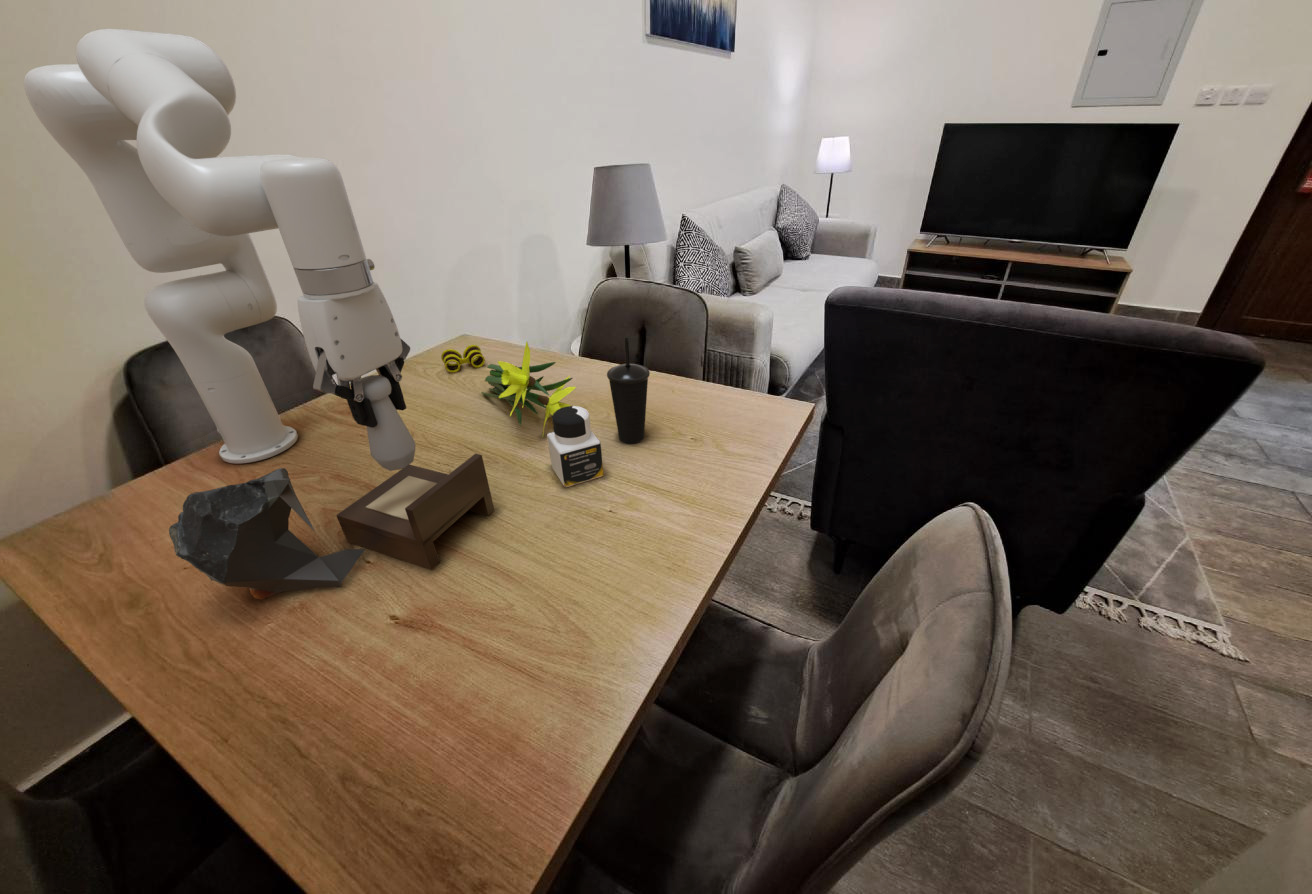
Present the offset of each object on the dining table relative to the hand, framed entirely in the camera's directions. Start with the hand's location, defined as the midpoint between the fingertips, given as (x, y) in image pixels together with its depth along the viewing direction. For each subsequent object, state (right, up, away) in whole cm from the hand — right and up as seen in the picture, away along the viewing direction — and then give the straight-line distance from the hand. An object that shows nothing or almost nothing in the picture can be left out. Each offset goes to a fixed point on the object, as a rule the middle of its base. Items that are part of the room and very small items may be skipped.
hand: (382, 415), depth 71 cm
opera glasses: (-11, +16, +62) cm, 65 cm away
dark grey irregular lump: (-13, -23, +1) cm, 26 cm away
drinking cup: (+32, -3, +31) cm, 45 cm away
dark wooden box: (+1, -16, +10) cm, 19 cm away
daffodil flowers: (+8, +2, +39) cm, 40 cm away
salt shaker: (0, -7, +4) cm, 8 cm away
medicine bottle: (+23, -9, +21) cm, 33 cm away
